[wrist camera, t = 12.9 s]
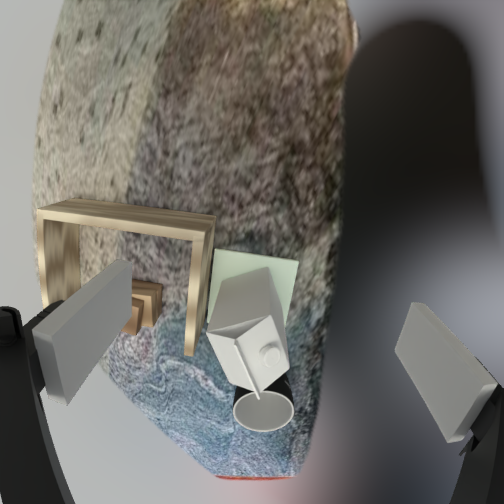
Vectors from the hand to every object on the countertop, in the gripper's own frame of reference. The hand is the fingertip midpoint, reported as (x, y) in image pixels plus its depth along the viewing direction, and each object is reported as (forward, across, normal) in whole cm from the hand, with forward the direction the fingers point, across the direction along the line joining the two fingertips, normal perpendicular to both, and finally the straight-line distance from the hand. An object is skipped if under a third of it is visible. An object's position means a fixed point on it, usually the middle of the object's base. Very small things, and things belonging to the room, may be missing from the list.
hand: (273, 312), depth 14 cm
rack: (+32, -18, -10) cm, 38 cm away
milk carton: (+31, 0, -13) cm, 34 cm away
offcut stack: (+32, -18, -16) cm, 40 cm away
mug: (+32, +4, -26) cm, 41 cm away
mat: (+32, 0, -13) cm, 34 cm away
